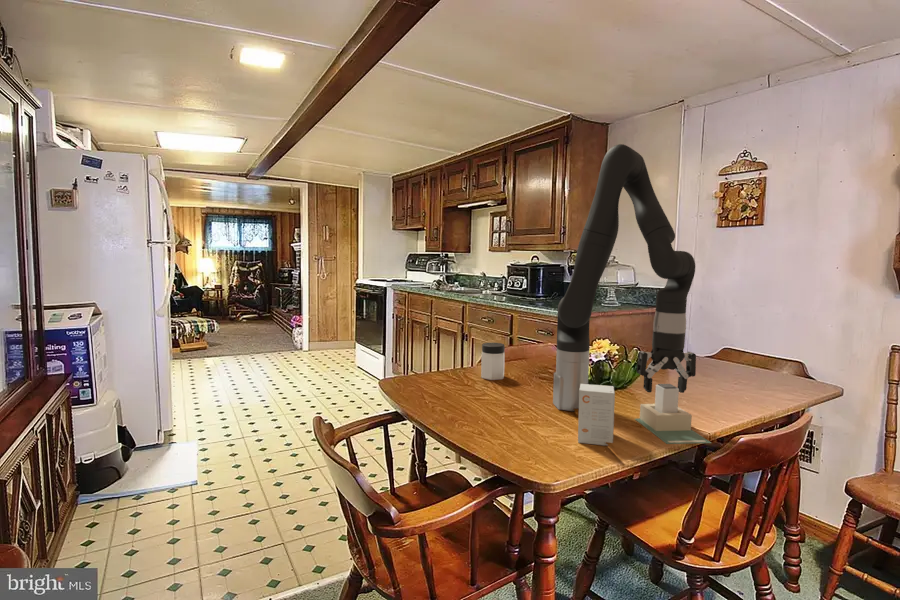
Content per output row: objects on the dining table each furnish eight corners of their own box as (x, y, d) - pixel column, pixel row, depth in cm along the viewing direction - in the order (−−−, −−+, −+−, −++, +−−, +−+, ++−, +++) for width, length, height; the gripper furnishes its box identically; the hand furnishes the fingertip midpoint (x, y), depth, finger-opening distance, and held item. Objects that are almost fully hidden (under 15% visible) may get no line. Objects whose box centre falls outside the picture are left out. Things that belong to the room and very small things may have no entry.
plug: (661, 427, 123) (663, 387, 122) (652, 420, 128) (654, 382, 127) (676, 426, 123) (678, 387, 122) (667, 420, 128) (669, 382, 127)
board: (666, 447, 113) (666, 443, 112) (634, 422, 129) (634, 418, 129) (711, 447, 113) (711, 442, 113) (673, 421, 130) (673, 417, 130)
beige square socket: (656, 430, 120) (656, 415, 120) (638, 417, 130) (639, 403, 130) (690, 430, 121) (691, 414, 121) (670, 417, 131) (671, 402, 130)
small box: (612, 437, 119) (614, 385, 118) (613, 447, 113) (615, 393, 111) (578, 433, 121) (580, 382, 120) (577, 443, 115) (579, 389, 114)
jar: (509, 377, 175) (510, 344, 173) (496, 381, 169) (496, 347, 167) (489, 372, 181) (490, 341, 179) (476, 377, 174) (476, 344, 173)
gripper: (688, 327, 126) (683, 388, 128) (635, 326, 126) (631, 387, 127) (704, 332, 119) (699, 396, 120) (648, 331, 118) (643, 395, 120)
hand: (664, 391), depth 124 cm, fingers open, 8 cm apart
